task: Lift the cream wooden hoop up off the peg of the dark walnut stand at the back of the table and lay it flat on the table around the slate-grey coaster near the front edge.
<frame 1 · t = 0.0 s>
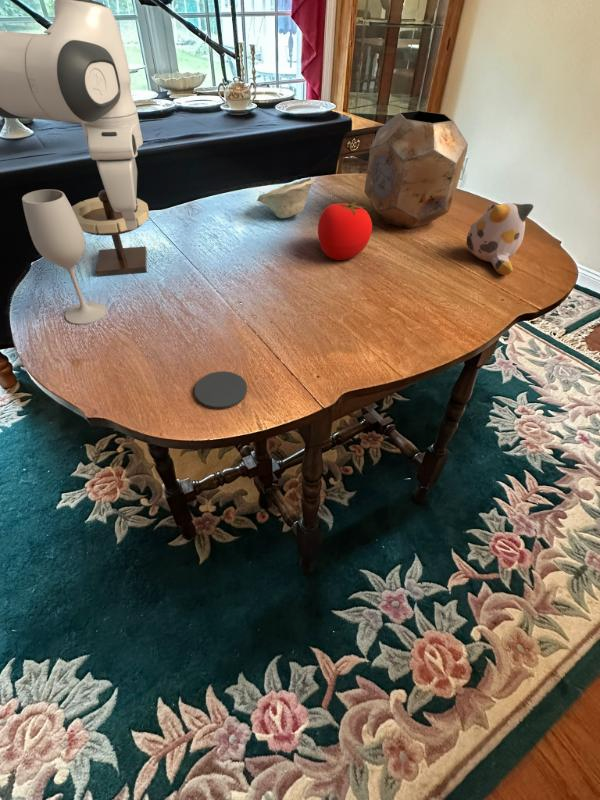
hand: (133, 217, 80), 13 cm above the table, tool pointing down, fingers open, 8 cm apart
wineglass: (86, 314, 81), on the table
coaster: (221, 391, 67), on the table
figurine: (492, 264, 101), on the table
hoop: (110, 217, 88), point 10 cm above the table, touching rack
rack: (123, 263, 95), on the table
bowl: (285, 216, 117), on the table
tomato: (340, 254, 102), on the table
planter: (404, 219, 118), on the table
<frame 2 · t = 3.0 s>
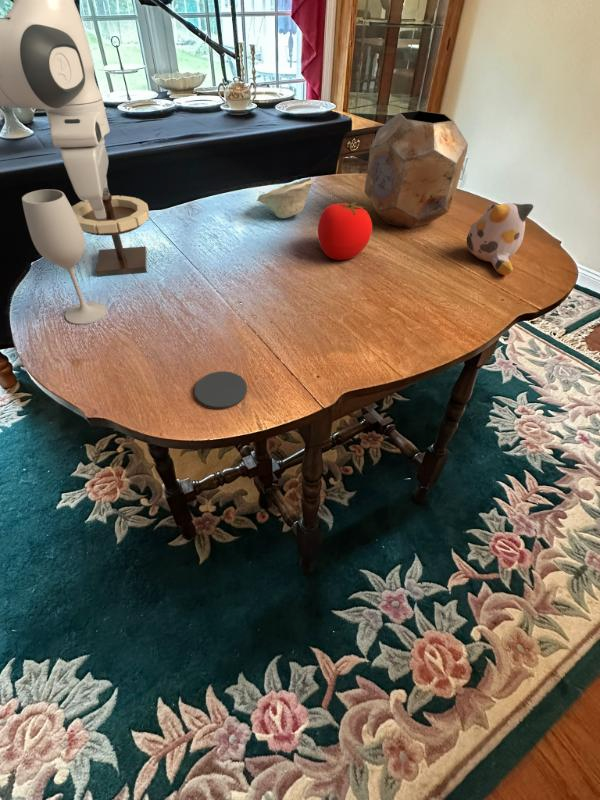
hand: (103, 207, 80), 14 cm above the table, tool pointing down, fingers open, 8 cm apart
nothing on the table moved.
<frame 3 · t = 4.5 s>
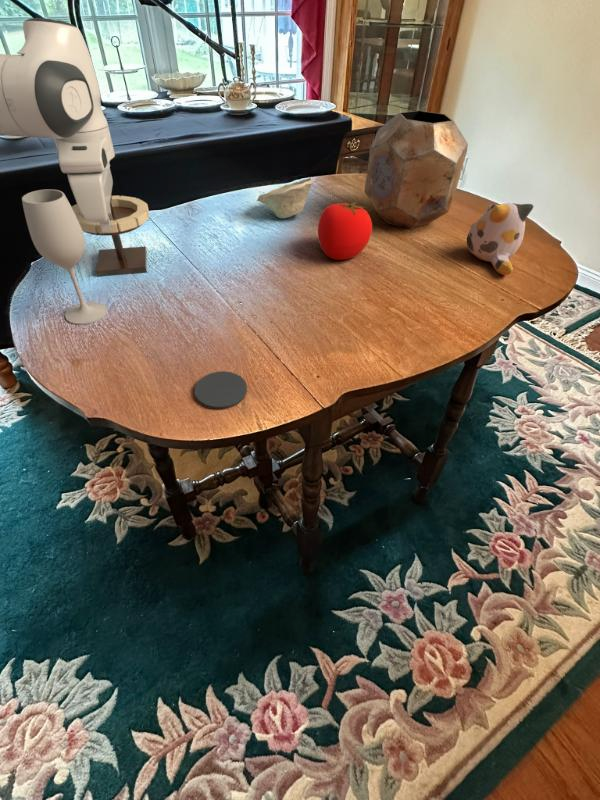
hand: (107, 227, 83), 11 cm above the table, tool pointing down, fingers closed on hoop, 2 cm apart
hoop: (110, 217, 88), point 10 cm above the table, touching gripper, rack
everything else where it was.
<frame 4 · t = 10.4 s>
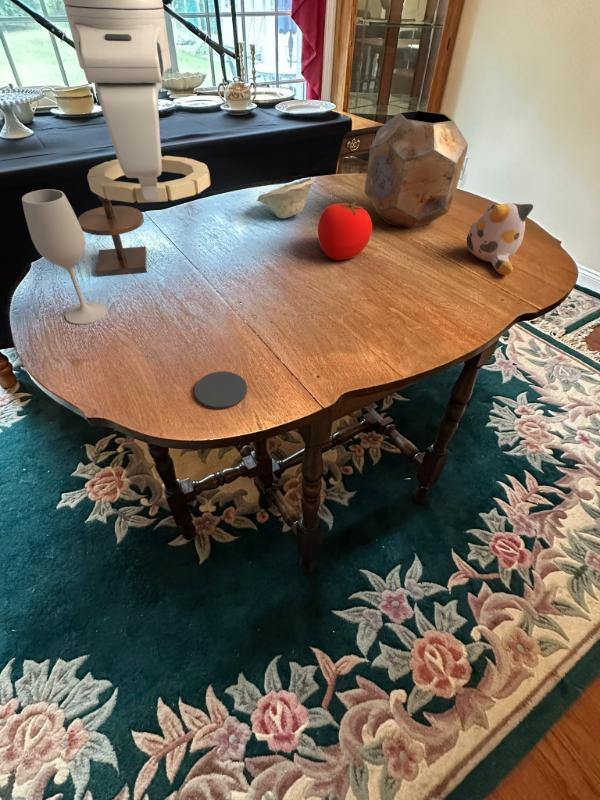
hand: (151, 193, 52), 27 cm above the table, tool pointing down, fingers closed on hoop
hoop: (152, 183, 57), point 26 cm above the table, touching gripper
everything else where it was.
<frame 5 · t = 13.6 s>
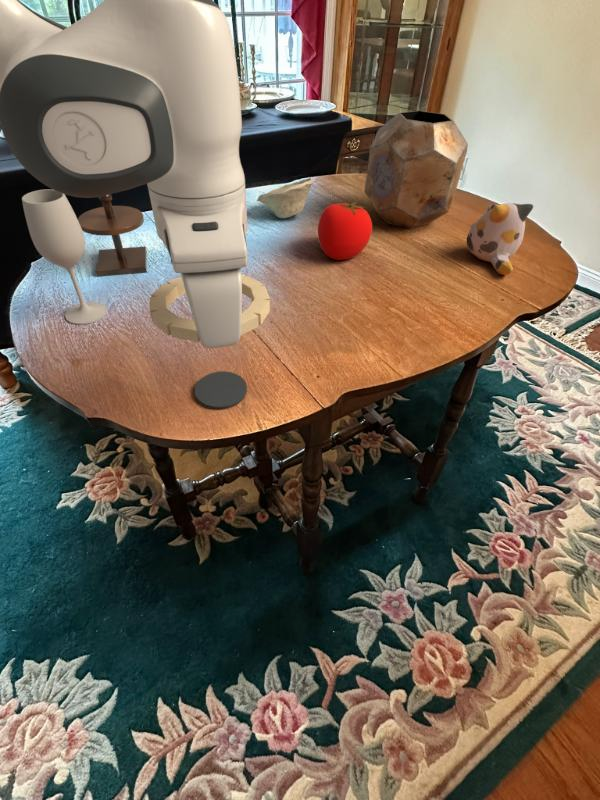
hand: (215, 331, 51), 16 cm above the table, tool pointing down, fingers closed on hoop
hoop: (211, 308, 56), point 15 cm above the table, touching gripper
everything else where it was.
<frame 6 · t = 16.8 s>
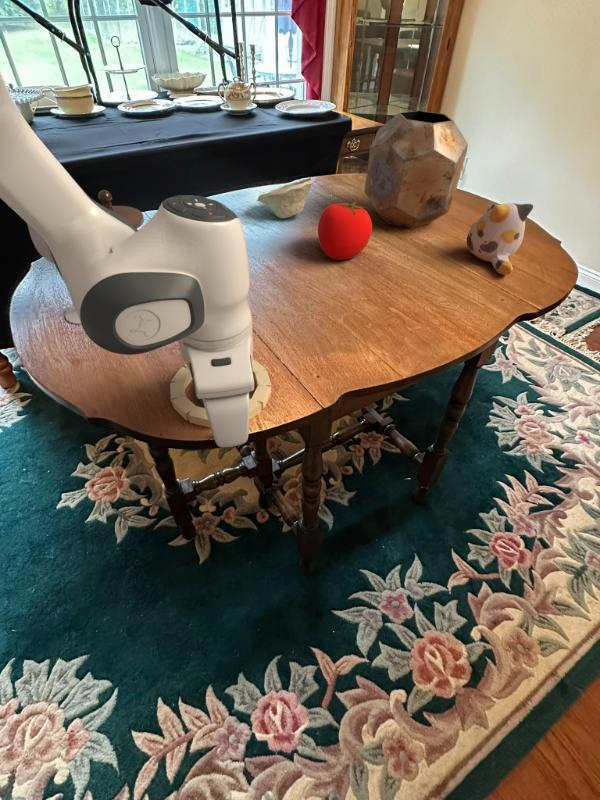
hand: (225, 417, 62), 1 cm above the table, tool pointing down, fingers open, 4 cm apart
hoop: (221, 391, 67), on the table
everything else where it was.
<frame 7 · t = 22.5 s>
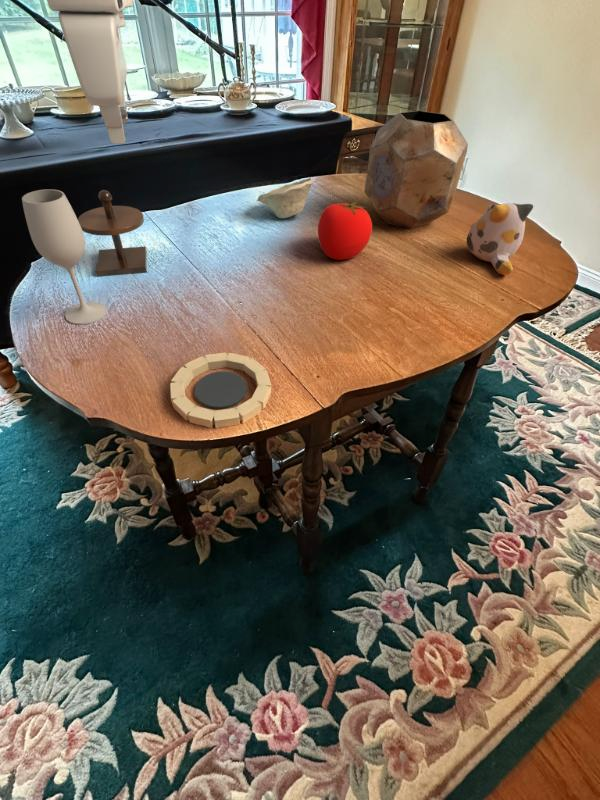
hand: (120, 132, 56), 31 cm above the table, tool pointing down, fingers open, 8 cm apart
nothing on the table moved.
at the end: hoop 0.1 cm off-centre on the coaster, point 0.0 cm above the coaster's base; hoop touching table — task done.
